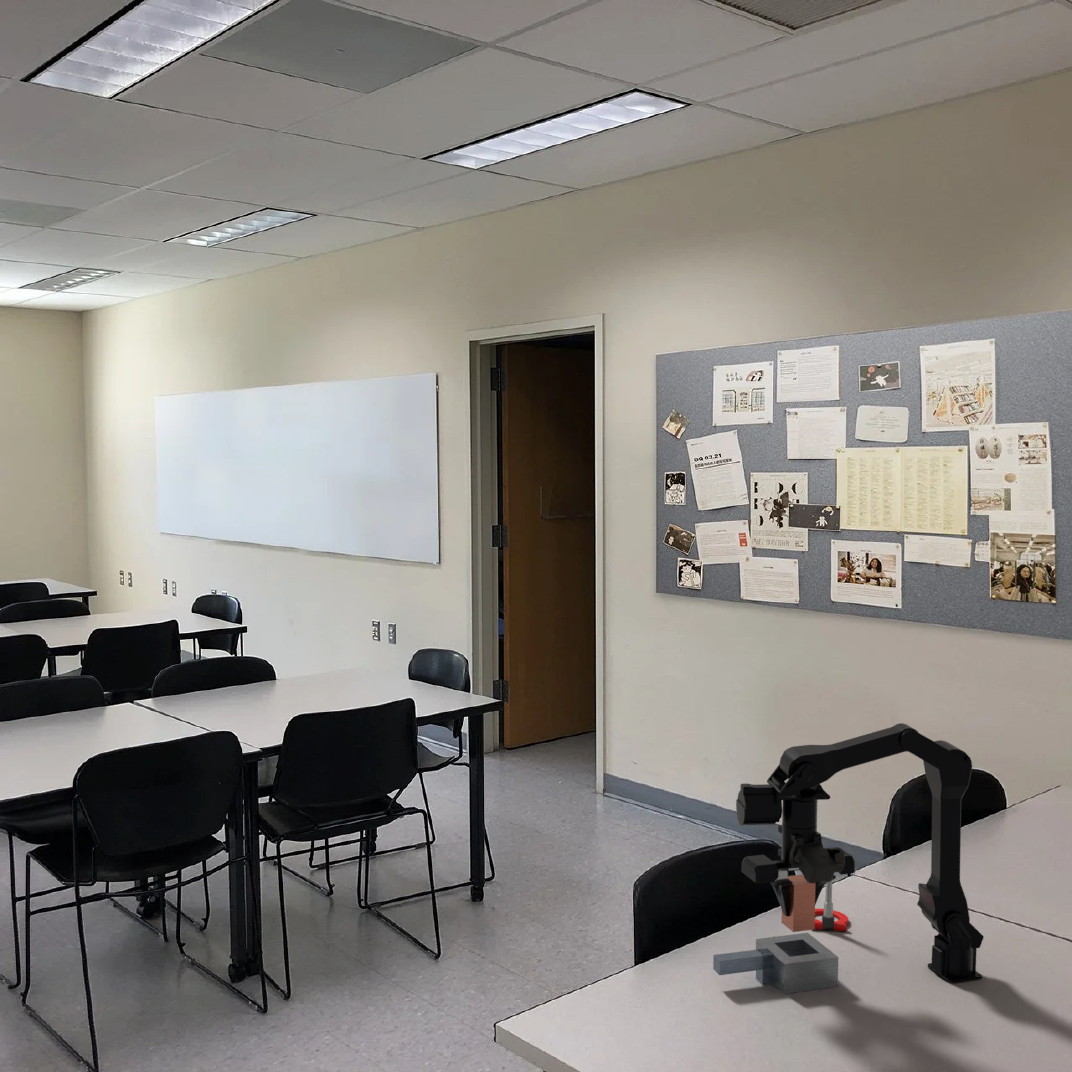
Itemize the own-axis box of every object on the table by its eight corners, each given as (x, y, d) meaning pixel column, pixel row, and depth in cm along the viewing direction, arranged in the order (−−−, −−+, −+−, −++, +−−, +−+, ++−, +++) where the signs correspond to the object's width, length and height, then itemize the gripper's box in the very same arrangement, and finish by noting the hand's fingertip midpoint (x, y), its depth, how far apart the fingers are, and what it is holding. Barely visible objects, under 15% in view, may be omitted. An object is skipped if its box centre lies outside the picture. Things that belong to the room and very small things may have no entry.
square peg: (802, 920, 189) (803, 874, 189) (814, 929, 185) (815, 882, 185) (781, 922, 188) (782, 876, 188) (793, 932, 184) (794, 885, 184)
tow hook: (800, 912, 216) (805, 930, 206) (802, 847, 215) (806, 861, 206) (845, 916, 214) (851, 933, 205) (846, 849, 214) (853, 864, 205)
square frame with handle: (807, 960, 194) (807, 932, 193) (837, 986, 184) (838, 957, 184) (703, 973, 188) (703, 945, 188) (729, 1001, 179) (729, 971, 178)
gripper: (772, 844, 175) (770, 940, 176) (875, 834, 181) (873, 927, 182) (740, 822, 186) (739, 913, 187) (838, 813, 191) (836, 901, 192)
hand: (797, 914), depth 187 cm, fingers closed on square peg, 4 cm apart
